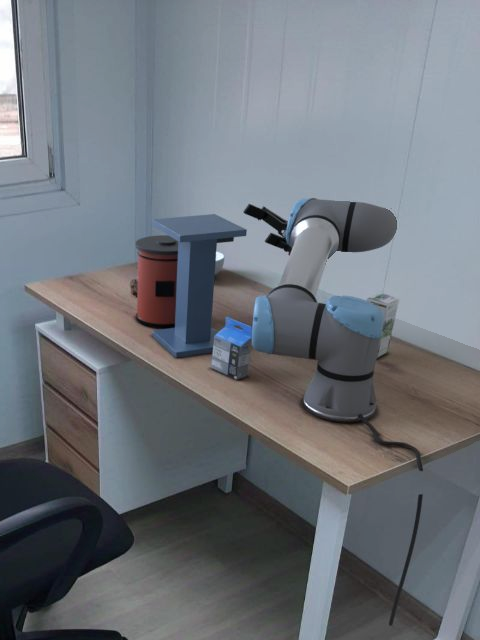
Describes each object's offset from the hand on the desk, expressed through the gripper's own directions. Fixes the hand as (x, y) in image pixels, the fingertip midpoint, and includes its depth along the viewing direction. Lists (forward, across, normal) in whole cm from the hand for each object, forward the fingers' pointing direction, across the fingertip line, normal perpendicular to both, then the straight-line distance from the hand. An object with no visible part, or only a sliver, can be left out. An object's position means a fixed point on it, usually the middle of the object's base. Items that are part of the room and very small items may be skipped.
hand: (257, 222), depth 199 cm
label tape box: (+18, -42, -20) cm, 50 cm away
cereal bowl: (-16, +25, -33) cm, 44 cm away
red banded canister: (+13, -5, -33) cm, 36 cm away
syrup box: (-18, -44, -3) cm, 48 cm away
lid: (+15, +2, -13) cm, 20 cm away
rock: (+6, +12, -38) cm, 40 cm away
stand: (+16, -23, -27) cm, 38 cm away
